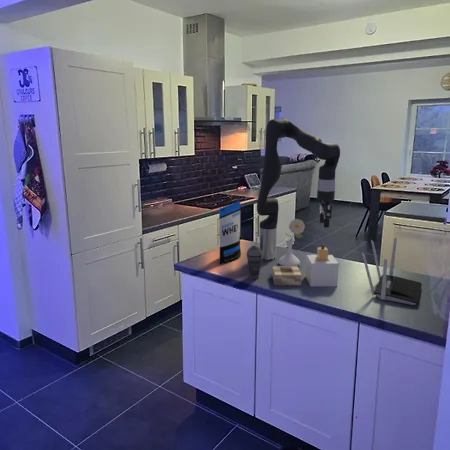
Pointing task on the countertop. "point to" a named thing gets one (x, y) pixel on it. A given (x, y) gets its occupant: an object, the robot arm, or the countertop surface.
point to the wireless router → (393, 283)
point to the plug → (322, 253)
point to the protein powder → (229, 233)
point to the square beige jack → (286, 275)
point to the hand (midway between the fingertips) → (324, 225)
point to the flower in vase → (289, 258)
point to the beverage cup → (254, 261)
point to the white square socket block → (322, 271)
